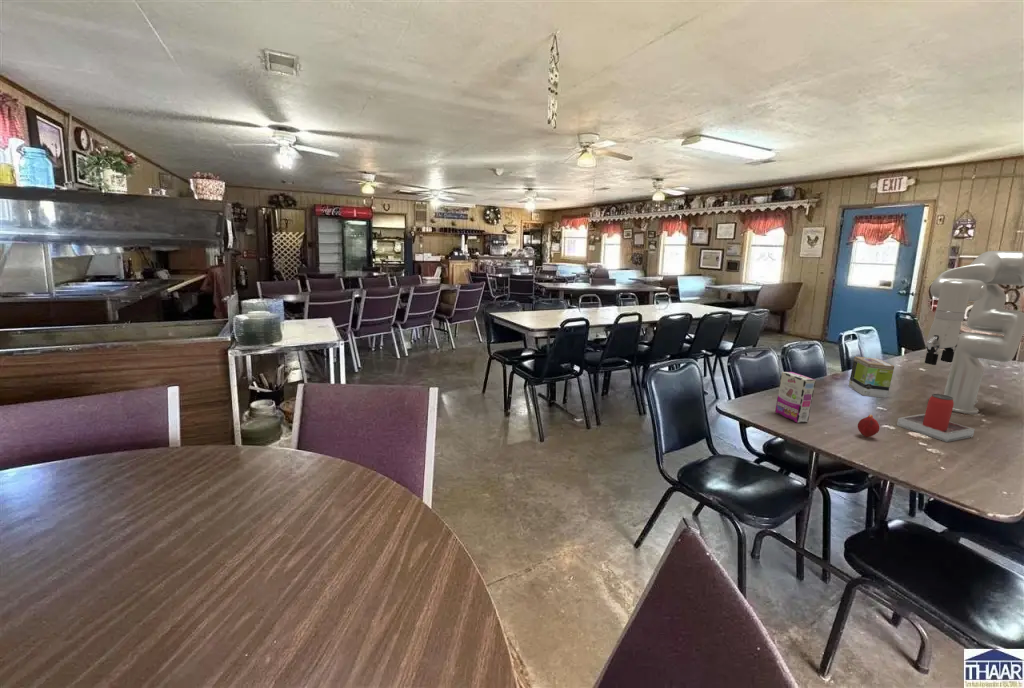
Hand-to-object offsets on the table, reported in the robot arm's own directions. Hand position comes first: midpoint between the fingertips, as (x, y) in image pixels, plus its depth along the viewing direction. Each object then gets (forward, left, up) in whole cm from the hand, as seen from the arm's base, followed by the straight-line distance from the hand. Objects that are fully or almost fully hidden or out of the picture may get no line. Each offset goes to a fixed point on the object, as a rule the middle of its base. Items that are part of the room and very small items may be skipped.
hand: (938, 362), depth 165 cm
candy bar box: (+44, -19, -24) cm, 53 cm away
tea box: (-21, -33, -24) cm, 46 cm away
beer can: (+4, +5, -23) cm, 24 cm away
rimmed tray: (+4, +6, -24) cm, 25 cm away
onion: (+35, +2, -24) cm, 42 cm away
